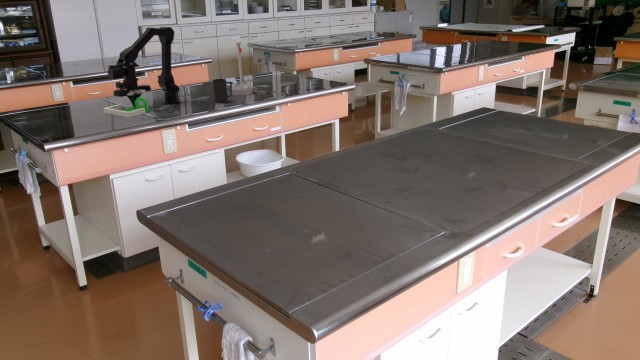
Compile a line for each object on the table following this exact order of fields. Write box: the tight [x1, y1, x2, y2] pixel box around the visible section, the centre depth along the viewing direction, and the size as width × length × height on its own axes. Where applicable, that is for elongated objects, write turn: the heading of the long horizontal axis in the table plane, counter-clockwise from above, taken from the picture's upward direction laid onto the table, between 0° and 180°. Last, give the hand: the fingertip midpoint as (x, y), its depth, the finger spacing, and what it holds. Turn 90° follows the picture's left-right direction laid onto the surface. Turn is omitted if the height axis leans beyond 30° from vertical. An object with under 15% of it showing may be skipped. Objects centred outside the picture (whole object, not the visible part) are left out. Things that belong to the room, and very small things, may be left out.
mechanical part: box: [122, 96, 150, 114], centre depth 264 cm, size 12×6×8 cm, turn 101°
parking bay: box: [103, 103, 146, 118], centre depth 263 cm, size 10×19×2 cm, turn 55°
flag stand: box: [232, 39, 254, 96], centre depth 297 cm, size 13×13×30 cm
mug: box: [212, 78, 233, 104], centre depth 280 cm, size 10×7×12 cm
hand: (135, 107), depth 268 cm, fingers closed
